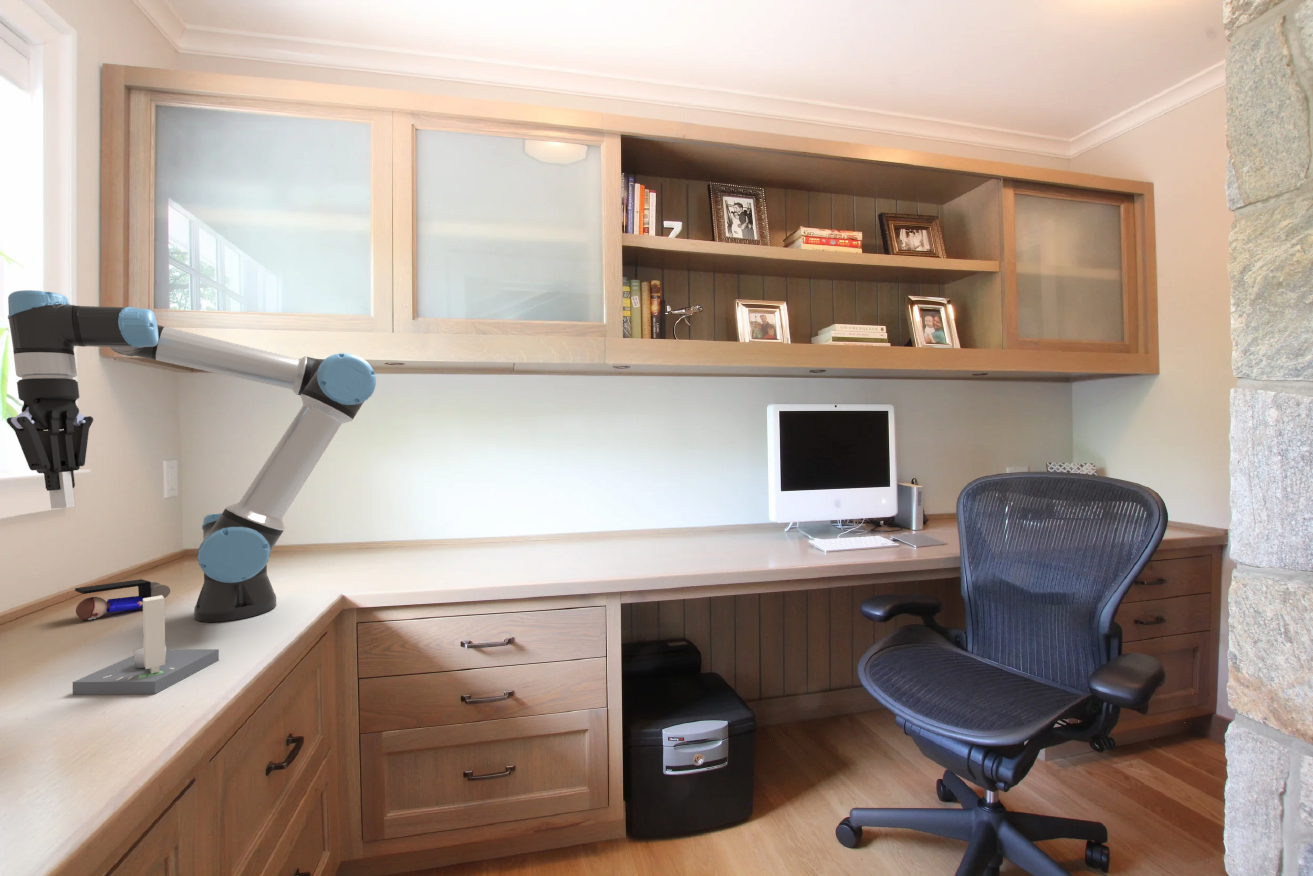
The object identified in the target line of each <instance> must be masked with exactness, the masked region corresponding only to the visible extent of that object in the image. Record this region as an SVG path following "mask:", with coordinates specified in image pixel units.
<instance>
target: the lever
mask: <svg viewBox="0 0 1313 876" xmlns="http://www.w3.org/2000/svg"><path fill="white" fill-rule="evenodd" d="M165 616H166V615H165V598H164V597H163V596H162V595H160V596H155V597H149V598H143V609H142V632H143V633H142V637H143V641H142V642H143V643H142V645H143V646H142V647H140V648H138V649H135V650H134V654H133V655H134V662H135V667H136V668H144V667H145V669H150V672H151V674H152V673H156V672H160V666H161V665H165V661H166V650H167V645H166V628H165V626H166V617H165Z"/></svg>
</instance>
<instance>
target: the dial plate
mask: <svg viewBox="0 0 1313 876" xmlns="http://www.w3.org/2000/svg"><path fill="white" fill-rule="evenodd" d="M219 654H220V651H219V648H213V649H212V648H211V649H210V648H209V649H208V648H207V649H205V648H204V649H202V648H201V649H192V648H191V649H190V648H189V649H183V648H182V649H166V661H165V665H161V666H160V672H156V673H152V674H151V672H150V669H145V667H144V668H136V667H135V662H134V654H133V655H131V656H128V657H127V658H124V659H123V660H120V661H118V662H115V663H113V664H111V665H108V666H106V667H104V668H101V669H99V670H97V671H94V672H93V673H91V674H90V673H89V674H87V675H86V676H83V677H81V678H79V679H76V680H74V681H72V695H81V696H82V695H157V694H158V693H160V692H162V691H164V690H166V689H167V688H169V687H171V686H173V685H175V684H177V683H179V682H181V681H183V680H184V679H186V678H189V677H190V676H192V675H194V674H196V673H197V672H199V671H201V670H203V669H205V668H208V667H209V666H210V665H212V664H215V663H216V662H218V661H220V660H219V659H220V655H219Z"/></svg>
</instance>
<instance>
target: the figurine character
mask: <svg viewBox="0 0 1313 876" xmlns="http://www.w3.org/2000/svg"><path fill="white" fill-rule="evenodd" d="M133 587H135V588H136V587H137V590H138V595H136V596H135V595H133V596H126V597H125V596H124V597H117V598H109V599H107V600H105V598H102V597H99V596H90V597H87V598H85V599H83V600H81V601H80V602H79V603H78V604H77V606H76V608H75V613H76V616H77V617H78V618H79V619H82V620H84V621H93V620H92V619H94V620H97V619H99V618H101V617H102V616H103V615H105V613H107V614H109V613H118V612H125V611H126V612H127V611H133V610H143V598H149V597H155V596H160V595H162V596H163V597H164V599H166V598H168V596H169V595H170V593H171V588H170V587H169V586H168V585H165V584H161V583H159V582H156V581H149V580H146V579H143V578H140V579H133V580H126V581H119V582H118V581H117V582H111V583H104V584H96V585H87V586H82V587H75V588H74V591H75V592H77V593H80V594H83V595H85V594H92V593H99V592H100V593H102V592H104V591H105V592H106V591H113V590H121V589H128V588H133Z"/></svg>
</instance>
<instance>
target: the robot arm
mask: <svg viewBox="0 0 1313 876" xmlns="http://www.w3.org/2000/svg"><path fill="white" fill-rule="evenodd" d="M7 298H8V299H7V300H8V301H7V304H8V306H7V307H8V315H7V319H8V322H9V329H10V335H11V344H12V349H13V350H12V352H13V360H14V370H15V376H16V377H18V378H21V379H19V380H18V381H16V385H17V395H18V399H19V400H20V401H22V402H23V405H22V407H21V413H19V414H18V415H16V416H11V417H7V418H6V423H7V424H8V425H9V427H10V428H11V429H12V430H13V431H14V433H15V435H16V437H17V440H18V443H19V445H20V448H21V451H22V453H23V455H24V458H25V461H26V463H27V465H28V469H29V470H30V471H36V473H37V474H43V476H44V483H45V490H46V491H47V492H49V499H50V501H49V502H50V508H51V510H55V509H63V508H66V509H67V508H72V507H73V508H74V507H75V506H76V505H75V497H74V488H75V486H76V482H75V475H74V474H75V473H74V472H75V471H79V470H80V469H81V467H84V466H85V465H86V464H85V463H86V458H87V457H86V456H87V449H88V440H89V433H90V428H91V426H92V424H93V423H94V417H92V416H85V415H84V414H82V413H80V408H79V407H78V405H77V403H76V401H77V400H79V399H80V389H79V382H78V381H77V380H76V379H74V378H76V377H77V376H78V373H77V372H78V371H77V366H76V355H75V351H74V349H75V348H74V347H82V348H84V347H95V348H96V347H97V348H98V347H100V348H101V347H102V348H105V347H106V348H109V349H111V351H113V352H115V353H116V354H119V355H123V356H126V357H127V356H128V357H139V358H143V359H148V360H154V361H159V362H163V363H168V364H172V365H177V366H182V367H187V368H191V369H194V370H195V369H196V370H201V371H206V372H208V373H210V372H211V373H215V374H219V375H223V376H227V377H232V378H238V379H243V380H247V381H251V382H256V383H260V384H266V385H271V386H274V387H280V388H284V389H287V390H291V391H293V393H294V394H295V395H297V396H299V397H300V398H301V401H302V406H301V408H300V409H299V411H298V412H297V414H296V415H295V417H294V418H293V420H292V421H291V423H290V424H289V426H288V427H287V428H286V430H285V432H284V433H283V435H282V437H281V438H280V439H279V441H278V443H277V444H276V446H275V448H274V449H273V451H272V452H271V453H270V455H269V456H268V458H267V460H265V463H264V464H263V465H262V467H261V469H260V470H259V472H258V473H257V474H256V476H255V478H253V481H252V482H251V484H250V485H249V487H248V488H247V490H246V491H245V493H244V494H243V496H242V497H241V499H240V500H239V501H238V502H237V503H234V504H230V505H227V506H226V507H225V508H224V510H223V511H222V512H221V513H220V512H219V513H210V514H207V515H206V516H204V517H203V522H202V525H201V529H202V532H203V533H202V538H203V539H202V542H201V543H200V545H199V547H198V550H197V554H196V555H197V556H196V557H197V563H198V565H199V568H200V570H202V572H203V584H202V587H201V590H200V591H199V592H200V593H199V594H198V598H197V601H196V604H195V606H194V611H193V613H194V614H193V615H194V616H193V617H194V620H195V621H199V622H205V623H214V622H216V623H217V622H218V623H219V622H228V621H235V620H242V619H247V618H251V617H255V616H259V615H262V614H264V613H267V612H269V611H271V610H273V609H275V608H276V607H277V595H276V592H275V591H274V589H273V587H272V586H273V585H272V582H271V580H270V579H269V576H268V569H267V568H268V562H269V560H270V557H271V552H272V550H273V548H274V547H275V545H276V544H277V542H278V541H279V539H280V537H281V535H282V534H283V533H284V531H285V526H284V522H283V518H284V516H285V515H286V513H287V512H288V510H289V509H290V507H291V505H292V504H293V502H294V501H295V498H296V497H297V496H298V494H299V492H300V491H301V489H302V487H303V486H304V485H305V483H306V481H307V480H308V478H309V477H310V475H311V473H312V471H314V468H315V467H316V465H318V462H319V460H320V459H321V457H322V456H323V454H324V453H325V452H326V449H327V448H328V447H329V445H330V443H331V442H332V440H333V438H334V436H335V435H336V434H337V433H338V430H339V429H340V427H341V426H342V425H343V424H346V423H349V422H353V420H354V419H355V417H356V415H357V414H358V412H359V411H360V410H361V408H362V405H363V404H364V403H365V402H366V401H368V399H370V397H372V395H373V393H375V390H376V386H377V377H376V372H375V371H374V369H373V367H372V366H371V365H370V363H369V362H368V361H366V359H364V358H362V357H361V356H359V355H356V354H353V353H344V352H341V353H340V352H339V353H335V354H331V355H329V356H328V357H325V359H321V358H314V357H310V356H306V355H305V356H303V357H301V358H296V357H291V356H287V355H284V354H279V353H277V352H271V351H267V350H262V349H259V348H256V347H252V346H251V347H250V346H247V345H242V344H237V343H234V342H229V341H226V340H221V339H217V338H212V337H209V336H204V335H201V334H197V333H193V332H188V331H183V330H180V329H176V328H173V327H172V328H171V327H168V326H162V325H159V324H158V321H157V318H156V314H155V312H154V311H153V310H151V309H148V308H138V307H133V306H126V307H125V306H124V307H123V306H122V307H120V306H119V307H118V306H91V305H90V306H89V305H87V306H84V305H75V304H70V302H69V299H68V297H67V296H66V295H64V294H62V293H58V292H54V291H42V290H32V289H31V290H29V289H28V290H27V289H26V290H25V289H24V290H18V291H17V290H16V291H13V292H11V293H10V294H9V295H8V297H7Z"/></svg>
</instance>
